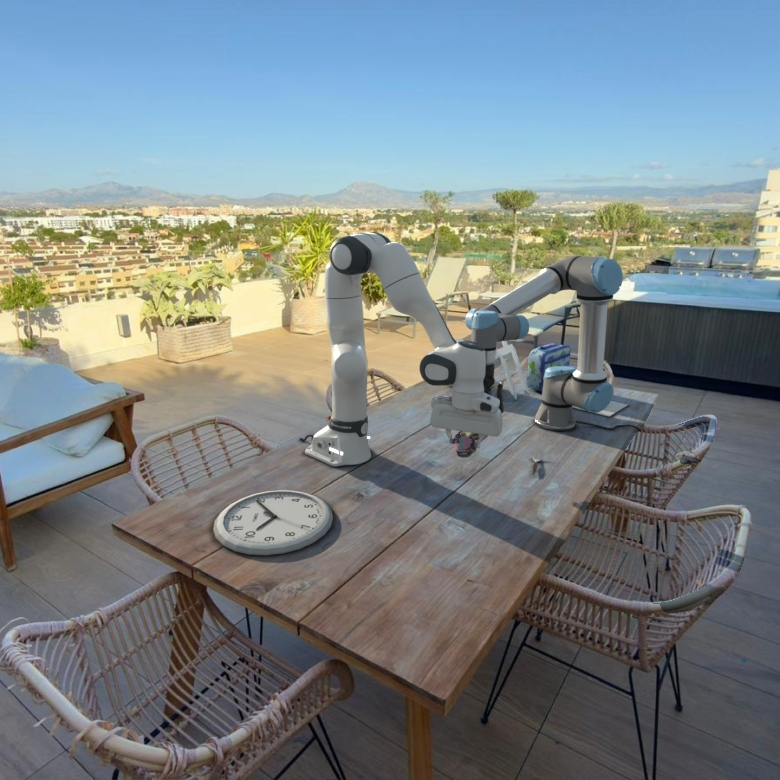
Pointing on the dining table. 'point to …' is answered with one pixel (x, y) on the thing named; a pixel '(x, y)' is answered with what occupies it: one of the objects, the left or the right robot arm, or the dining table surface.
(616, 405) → the invitation card
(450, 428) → the left robot arm
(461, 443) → the shoe
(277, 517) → the wall clock
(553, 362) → the lunch box
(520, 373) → the white plastic object
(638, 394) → the dining table surface
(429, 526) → the dining table surface
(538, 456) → the fork
